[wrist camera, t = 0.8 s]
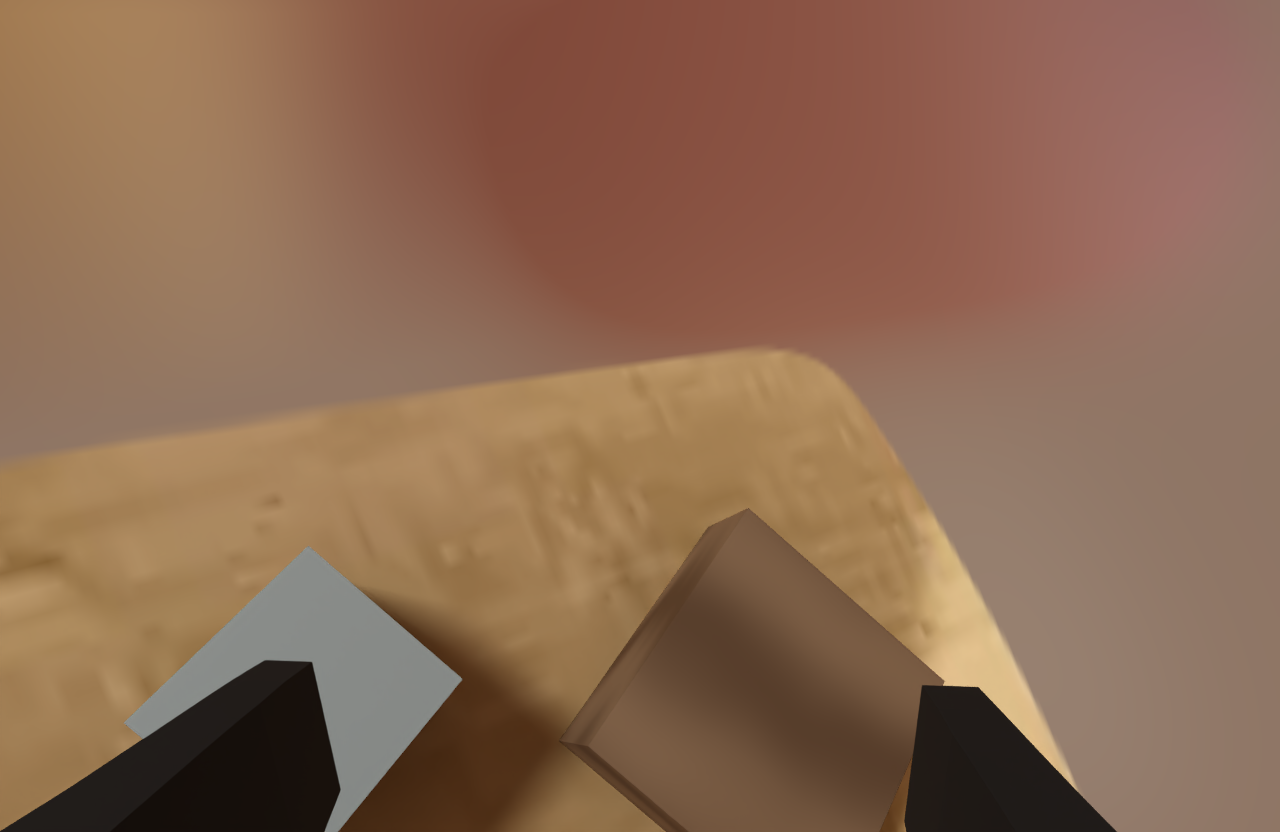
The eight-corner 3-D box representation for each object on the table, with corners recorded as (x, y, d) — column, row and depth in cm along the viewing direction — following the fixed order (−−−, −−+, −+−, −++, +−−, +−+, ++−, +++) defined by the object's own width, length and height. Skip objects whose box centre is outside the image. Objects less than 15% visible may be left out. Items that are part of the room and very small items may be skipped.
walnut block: (766, 918, 24) (828, 950, 21) (556, 740, 24) (588, 746, 21) (879, 683, 28) (944, 681, 25) (703, 529, 28) (748, 507, 25)
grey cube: (312, 835, 20) (304, 873, 16) (171, 717, 20) (124, 722, 16) (440, 682, 23) (462, 678, 18) (315, 574, 23) (308, 546, 18)
